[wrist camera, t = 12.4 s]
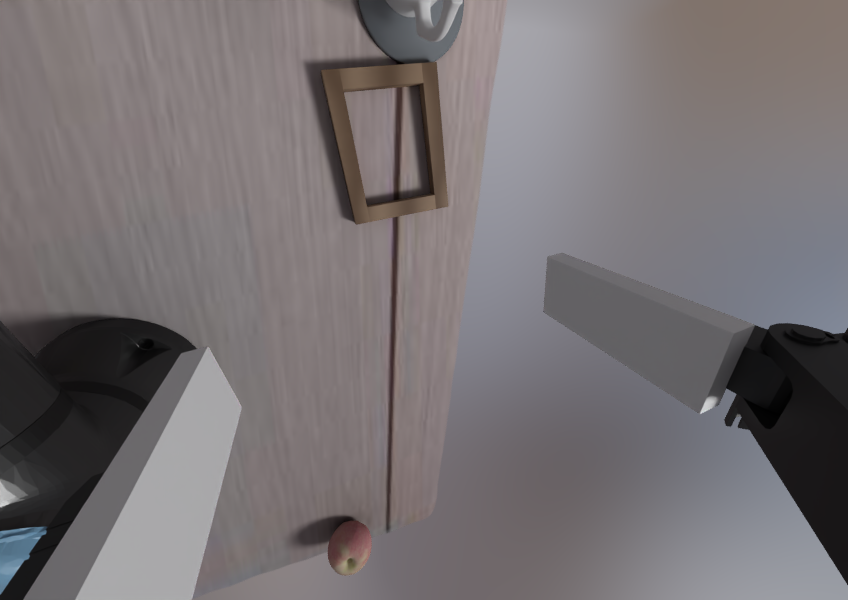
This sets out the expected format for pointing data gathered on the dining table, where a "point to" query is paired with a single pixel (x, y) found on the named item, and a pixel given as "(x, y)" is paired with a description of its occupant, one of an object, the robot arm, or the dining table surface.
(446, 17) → the mug
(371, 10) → the coaster
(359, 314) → the dining table surface
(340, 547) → the apple
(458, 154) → the dining table surface
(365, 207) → the holder
